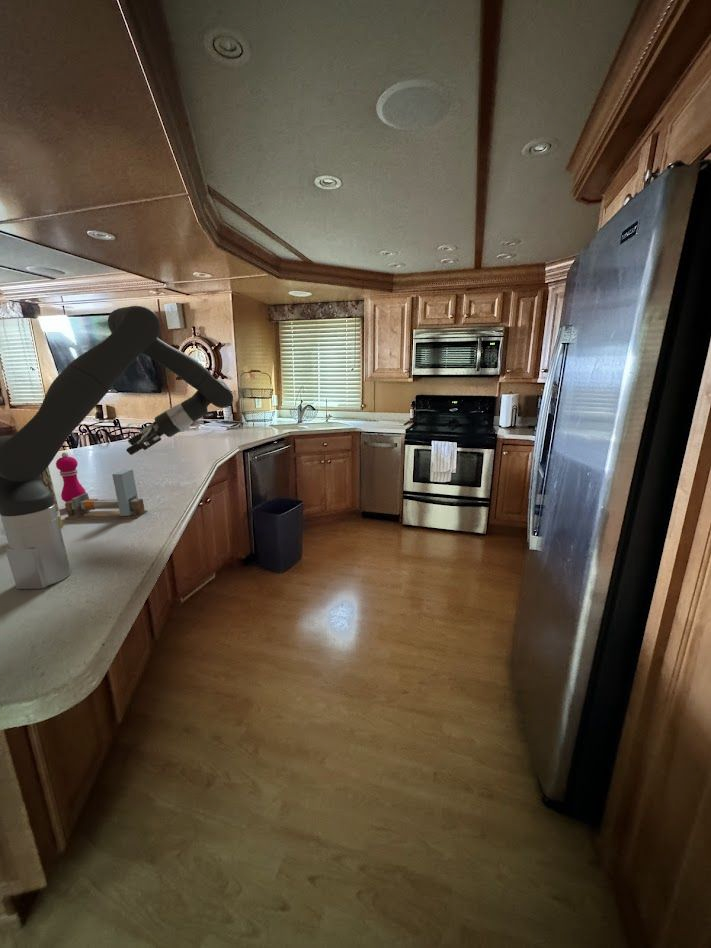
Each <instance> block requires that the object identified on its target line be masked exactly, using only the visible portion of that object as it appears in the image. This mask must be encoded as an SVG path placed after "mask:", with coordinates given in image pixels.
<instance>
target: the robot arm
mask: <svg viewBox="0 0 711 948" xmlns="http://www.w3.org/2000/svg"><path fill="white" fill-rule="evenodd" d="M160 321H161V320H160V318H159V316H158V315H157V313H156V312H154V311H153V310H152V309H151V308H148V307H146V306H141V305H130V306H125V307H120V308H119V307H118V308H117V309H114V310H113V311H111V312H110V314H109V315H108V318H107V326H108V329H109V330H110V332H111V333H110V334H109V335H108V337H106V338H105V339H104V340H103V341H102V342H100V343H98V344H97V345H95V346H93V347H92V348H89V349H88V350H86V351H85V352H83V353H82V354H80V355H79V356H78V357H76V358H75V359H74V360H72V361H71V362H70V363H69V364H68V365H67V366H66V367H65V368H64V369H63V370H62V371H61V372H60V373H59V374H58V375H57V376H56V378H54V380H52V382H51V384H50V386H49V387H48V389H47V391H46V393H45V395H44V398H43V400H42V403H41V405H40V407H39V409H38V411H37V412H36V413H35V415H34V416H33V417H32V418H31V419H30V420H29V421H28V422H27V423H26V424H25V425H23V427H22V428H20V429H19V430H18V431H17V432H16V433H15V434H14V435H1V436H0V519H1V523H2V525H3V526H2V527H3V530H4V533H5V537H6V541H7V543H8V547H9V548H7V549H6V550H5V553H6V558H7V561H8V564H9V567H10V570H11V574H12V579H13V580H14V585H15V587H16V589H17V590H33V589H35V590H40V589H45V588H47V587H48V586H50V585H53V584H57V583H59V582H61V581H63V580H65V579H67V577H69V576H70V575H71V574H72V573H71V572H72V568H71V565H70V561H69V557H68V553H67V549H66V545H65V541H64V537H63V534H62V528H61V529H60V525H59V521H58V517H57V513H56V508H55V504H54V500H53V496H52V494H51V492H50V491H49V490H48V489H47V488H46V486H45V485H44V483H43V481H42V478H41V474H42V473H43V472H44V471H45V470H46V469H47V467H49V466H50V464H51V463H52V461H53V460H54V458H55V457H56V456H57V454H58V452H59V451H60V449H61V448H62V446H63V445H64V443H65V442H66V440H67V439H68V438H69V437H70V436H71V434H72V433H73V432H74V431H75V430H76V428H77V427H79V425H80V424H81V423H82V422H83V421H85V419H86V418H87V417H88V415H90V413H91V411H92V410H94V408H95V407H96V406H97V405H98V404H99V403H100V402H101V401H102V400H103V398H104V397H105V396H106V395H107V394H108V392H109V391H110V390H111V388H113V386H114V385H115V383H116V382H118V380H120V378H121V376H122V375H123V374H124V373H125V372H126V370H127V369H128V367H130V365H131V364H132V363H133V362H134V360H136V359H137V358H138V356H140V355H141V354H143V355H145V356H147V357H148V358H150V359H151V360H153V361H155V362H157V363H158V364H159V365H161V366H162V367H164V368H166V369H168V370H169V371H171V373H173V374H174V375H176V376H177V377H179V378H180V379H181V380H183V381H184V382H185V383H187V384H188V385H190V386H191V387H192V388H193V389H195V390H196V391H195V393H194V394H193V395H192V396H191V397H189V398H187V399H186V400H183V401H182V402H181V403H178V404H175V405H174V406H172V407H170V408H168V409H167V410H164V411H163V412H162V413H160V414H158V415H157V416H155V417H154V421H153V422H152V423H150V424H149V425H146V426H145V427H143V428H141V429H140V430H139V432H138V433H137V434H136V435H134V436H132V437H130V438H129V439H128V440H127V442H128V444H129V445H130V446H129V447H127V448H126V452H127V453H128V454H129V455H131V456H132V455H135V454H136V453H137V452H139V451H141V450H143V451H146V450H148V449H149V448H151V447H152V446H154V445H156V444H157V443H158V442H160V441H161V440H162V438H161V437H162V436H163V435H165V436H167V438H172V437H173V436H175V435H177V434H178V433H179V432H181V431H183V430H185V429H186V428H188V427H190V426H191V425H192V424H193V423H194V422H196V421H198V420H200V419H201V418H203V417H205V415H206V414H208V407H209V405H210V404H212V405H213V406H215V407H217V408H220V409H226V408H229V407H230V406H231V405H232V404H233V402H234V396H233V392H232V391H231V389H230V388H229V386H228V385H227V384H226V383H225V381H223V380H222V379H219V378H215V377H214V376H213V375H212V373H211V372H210V371H209V370H208V369H207V368H206V367H204V365H202V363H200V362H198V361H197V360H196V359H194V357H192V356H190V355H188V354H187V353H185V352H184V351H181V350H179V349H177V348H175V347H173V346H171V345H169V344H168V343H166V342H165V341H163V340H161V339H160V338H159V336H160V332H161V322H160Z"/></svg>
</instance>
